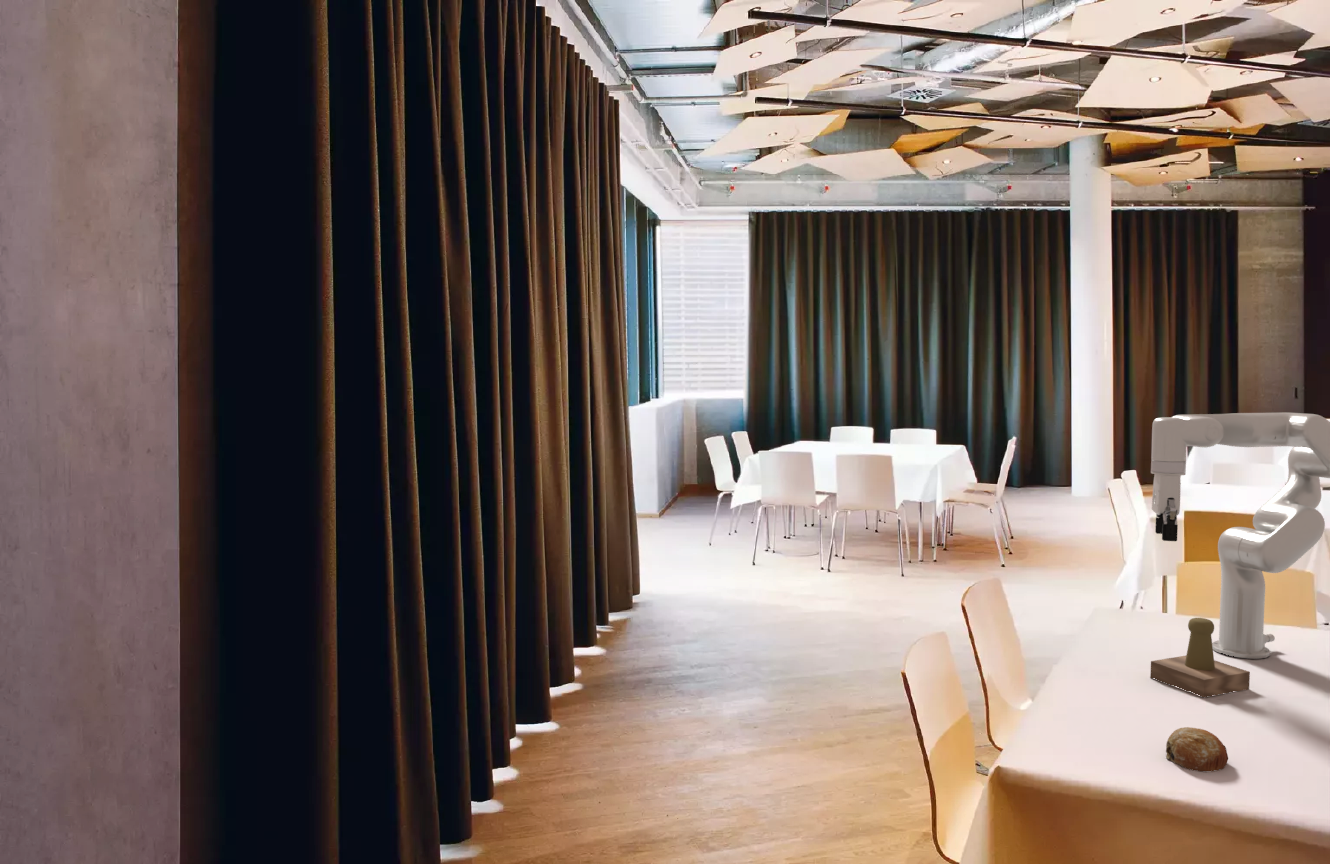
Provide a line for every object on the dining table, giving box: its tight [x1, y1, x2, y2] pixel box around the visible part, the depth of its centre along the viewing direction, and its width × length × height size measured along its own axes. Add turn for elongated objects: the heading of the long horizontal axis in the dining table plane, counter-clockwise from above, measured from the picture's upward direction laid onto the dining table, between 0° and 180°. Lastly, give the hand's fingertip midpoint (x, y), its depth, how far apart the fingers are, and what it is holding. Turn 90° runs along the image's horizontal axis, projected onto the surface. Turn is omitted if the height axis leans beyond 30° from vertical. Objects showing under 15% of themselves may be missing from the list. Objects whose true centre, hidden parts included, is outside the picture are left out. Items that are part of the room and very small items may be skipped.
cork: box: [1185, 617, 1215, 670], centre depth 218 cm, size 6×6×11 cm
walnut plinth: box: [1150, 655, 1251, 698], centre depth 218 cm, size 14×14×4 cm
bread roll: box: [1165, 726, 1229, 772], centre depth 177 cm, size 10×10×8 cm
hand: (1165, 537), depth 235 cm, fingers open, 9 cm apart
